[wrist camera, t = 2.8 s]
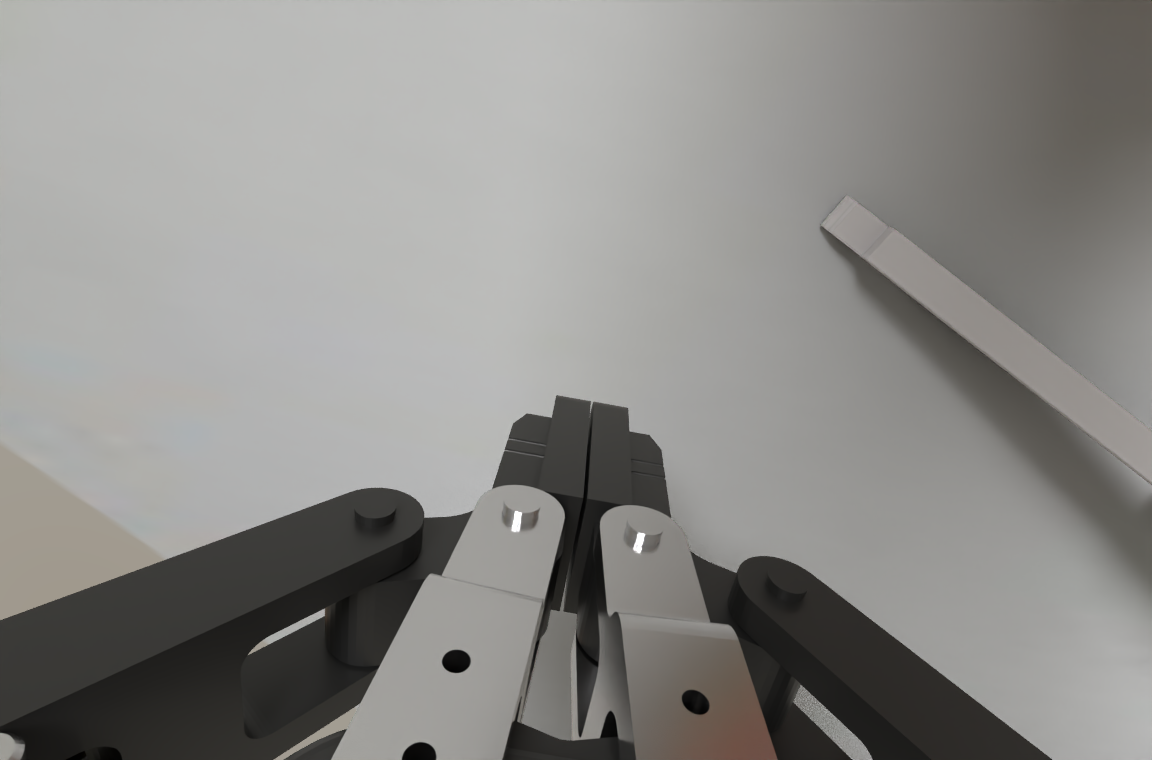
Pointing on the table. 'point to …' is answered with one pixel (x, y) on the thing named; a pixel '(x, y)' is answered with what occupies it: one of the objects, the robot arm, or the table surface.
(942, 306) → the caliper
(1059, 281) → the table surface
